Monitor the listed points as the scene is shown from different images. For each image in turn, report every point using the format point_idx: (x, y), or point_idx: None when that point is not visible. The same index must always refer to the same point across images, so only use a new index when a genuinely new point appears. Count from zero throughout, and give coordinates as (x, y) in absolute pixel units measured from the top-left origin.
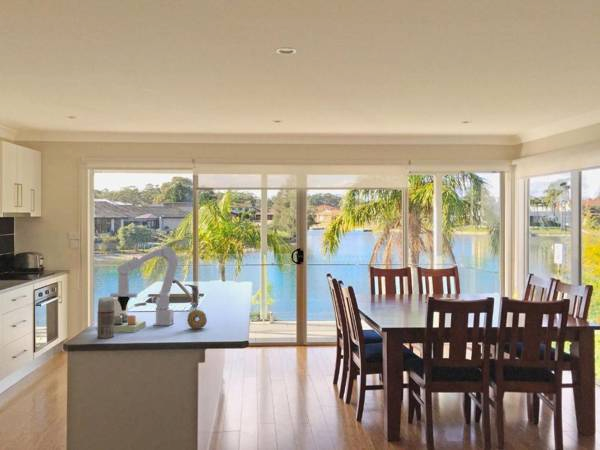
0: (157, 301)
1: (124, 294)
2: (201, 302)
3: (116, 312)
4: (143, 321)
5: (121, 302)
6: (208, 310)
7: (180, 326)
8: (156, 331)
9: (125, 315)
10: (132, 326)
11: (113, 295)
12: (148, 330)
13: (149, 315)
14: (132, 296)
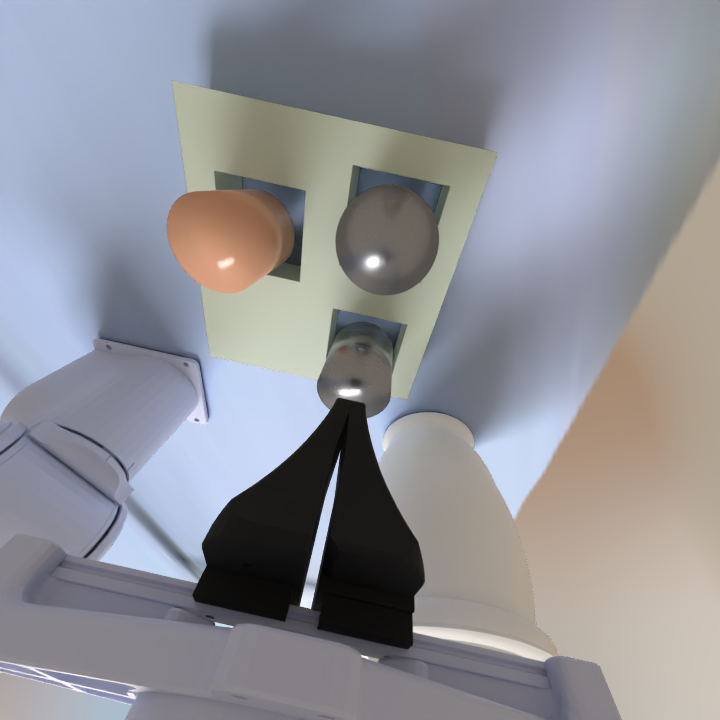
0: (10, 507)
1: (181, 686)
2: (230, 625)
3: (440, 474)
4: (220, 347)
5: (347, 479)
6: (145, 558)
7: (19, 309)
8: (43, 128)
9: (332, 358)
10: (199, 91)
11: (537, 710)
12: (137, 187)
13: (319, 546)
14: (91, 583)
